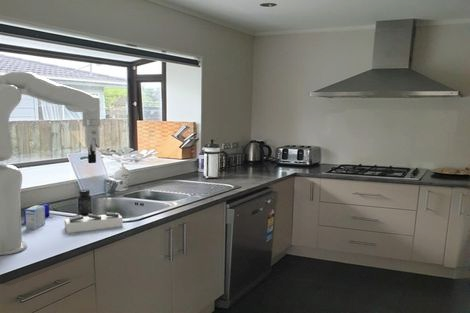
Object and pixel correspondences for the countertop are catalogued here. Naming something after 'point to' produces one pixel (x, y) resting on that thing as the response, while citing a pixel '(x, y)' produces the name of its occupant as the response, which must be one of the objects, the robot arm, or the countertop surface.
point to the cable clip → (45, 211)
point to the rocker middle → (94, 216)
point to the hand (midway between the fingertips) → (92, 162)
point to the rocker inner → (76, 218)
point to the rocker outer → (112, 214)
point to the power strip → (92, 223)
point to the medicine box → (35, 217)
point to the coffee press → (213, 160)
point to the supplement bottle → (84, 202)
